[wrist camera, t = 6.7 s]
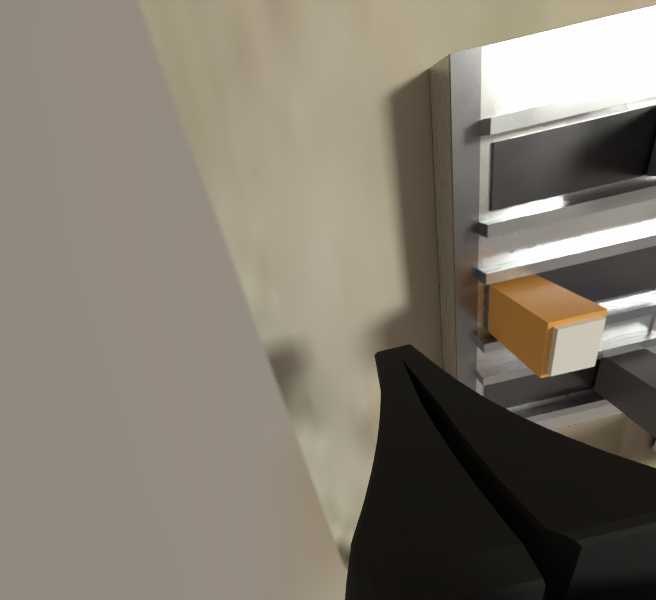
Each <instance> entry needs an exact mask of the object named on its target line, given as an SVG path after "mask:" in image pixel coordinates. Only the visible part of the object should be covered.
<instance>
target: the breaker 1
mask: <svg viewBox="0 0 656 600" xmlns="http://www.w3.org/2000/svg"><path fill="white" fill-rule="evenodd" d="M594 391H596V392H597V393H598V394H599V395H601V396H602V397H603V398H605V399H606V400H607V401H608V402H610V403H611V404H612V405H614V406H615V407H616V408H618V409H619V410H620V411H621V412H623V413H624V414H625V415H627V416H628V417H629V418H630V419H632V420H633V421H634V422H636V423H637V424H638V425H639V426H641V427H642V428H643V429H645V430H646V431H647V432H648V433H650V434H651V435H652V436H654V437H655V438H656V354H655V353H653V352H651V351H649V350H647V349H641V350H636V351H632V352H628V353H623V354H619V355H615V356H610V357H606V358H602V359H601V361H600V365H599V369H598V373H597V377H596V381H595V386H594Z"/></svg>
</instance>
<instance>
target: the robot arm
mask: <svg viewBox="0 0 656 600" xmlns="http://www.w3.org/2000/svg"><path fill="white" fill-rule="evenodd" d="M375 360H376V366H377V371H378V377H379V383H380V389H381V405H380V421H379V431H378V438H377V445H376V451H375V457H374V462H373V467H372V472H371V476H370V480H369V484H368V488H367V492H366V496H365V500H364V504H363V507H362V511H361V514H360V517H359V520H358V523H357V526H356V530H355V533H354V536H353V539H352V543H351V551H350V558H349V566H348V574H347V583H346V594H345V600H656V468H653V467H650V466H647V465H644V464H641V463H638V462H635V461H632V460H629V459H626V458H623V457H620V456H617V455H614V454H611V453H608V452H605V451H603V450H600V449H597V448H595V447H592V446H589V445H587V444H584V443H582V442H579V441H576V440H574V439H571V438H569V437H566V436H564V435H562V434H559V433H557V432H554V431H552V430H550V429H548V428H545V427H543V426H541V425H539V424H536V423H534V422H532V421H530V420H528V419H525V418H523V417H521V416H519V415H517V414H515V413H513V412H511V411H509V410H507V409H506V408H504V407H502V406H500V405H498V404H496V403H494V402H492V401H491V400H489V399H487V398H485V397H484V396H482V395H480V394H479V393H477V392H476V391H474V390H472V389H471V388H469V387H468V386H466V385H465V384H463V383H462V382H460V381H458V380H457V379H456V378H454V377H453V376H451V375H450V374H448V373H447V372H446V371H444V370H443V369H441V368H440V367H439V366H437V365H436V364H435V363H433V362H432V361H431V360H429V359H428V358H427V357H426V356H424V355H423V354H422V353H421V352H419V351H418V350H417V349H416V348H414V347H413V346H412V345H410V344H409V345H405V346H401V347H397V348H392V349H388V350H384V351H380V352H377V353H376V354H375ZM653 451H655V452H656V441H655V443H654V446H653Z"/></svg>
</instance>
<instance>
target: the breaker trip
mask: <svg viewBox="0 0 656 600" xmlns="http://www.w3.org/2000/svg"><path fill="white" fill-rule="evenodd" d="M607 310H608V309H607V308H604V307H602V306H600V305H598V304H596V303H594V302H592V301H590V300H588V299H586V298H584V297H582V296H579V295H577V294H575V293H573V292H571V291H569V290H567V289H565V288H563V287H561V286H559V285H557V284H554V283H552V282H550V281H548V280H546V279H544V278H542V277H540V276H538V275H536V274H533V275H529V276H525V277H521V278H516V279H512V280H508V281H503V282H499V283H495V284H491V285H489V311H488V332H489V333H490V334H491V335H493V336H494V337H495V338H496V339H497V340H498V341H499V342H500V343H501V344H503V345H504V346H505V347H506V348H507V349H508V350H509V351H510V352H512V353H513V354H514V355H515V356H516V357H517V358H518V359H519V360H520V361H522V362H523V363H524V364H525V365H526V366H527V367H528V368H529V369H531V370H532V371H533V372H534V373H535V374H536V375H537V376H538V377H539V378H544V377H549V376H555V375H560V374H564V373H568V372H573V371H577V370H581V369H585V368H590V367H594V366H595V363H596V359H597V355H598V351H599V346H600V342H601V338H602V334H603V330H604V326H605V321H606V314H607Z"/></svg>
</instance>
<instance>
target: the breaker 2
mask: <svg viewBox="0 0 656 600" xmlns="http://www.w3.org/2000/svg"><path fill="white" fill-rule="evenodd" d="M646 176H656V139H655V143H654V147H653V151H652V155H651V159H650V163H649V167H648V171H647V175H646Z"/></svg>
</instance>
